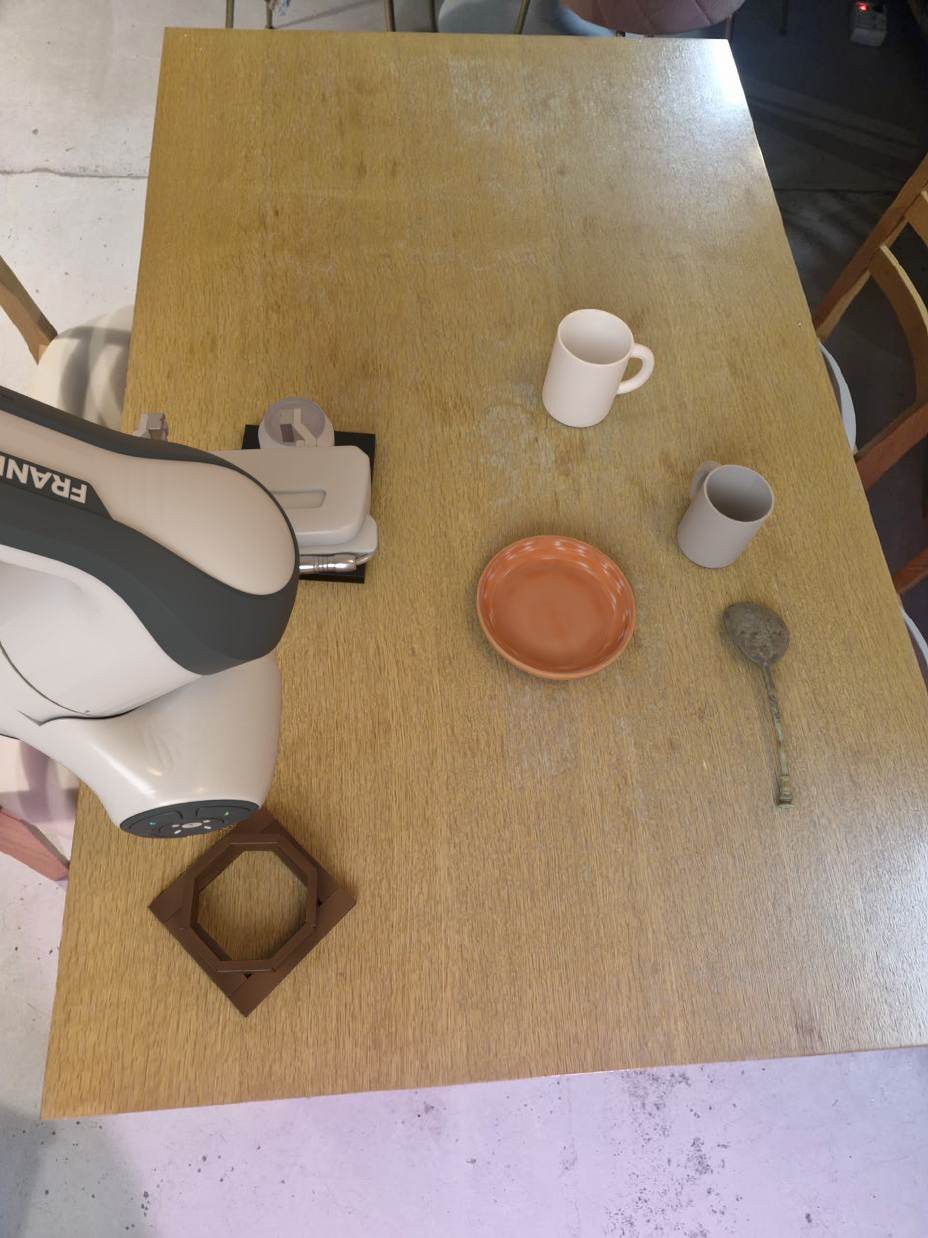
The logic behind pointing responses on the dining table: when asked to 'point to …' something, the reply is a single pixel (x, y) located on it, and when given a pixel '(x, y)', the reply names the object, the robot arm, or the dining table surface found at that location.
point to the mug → (591, 367)
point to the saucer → (555, 607)
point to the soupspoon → (763, 663)
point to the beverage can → (311, 420)
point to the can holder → (247, 993)
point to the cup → (723, 513)
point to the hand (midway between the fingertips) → (224, 417)
